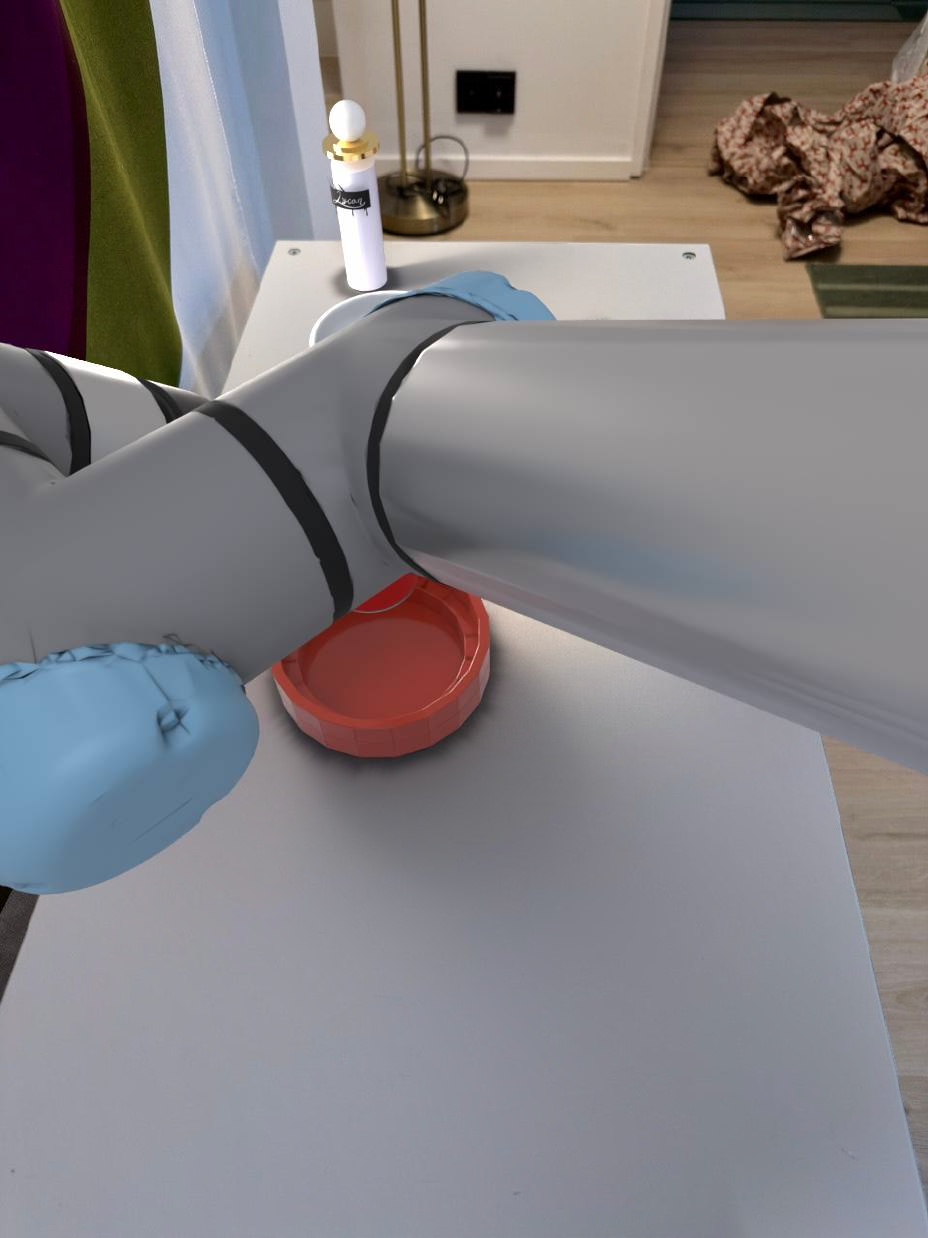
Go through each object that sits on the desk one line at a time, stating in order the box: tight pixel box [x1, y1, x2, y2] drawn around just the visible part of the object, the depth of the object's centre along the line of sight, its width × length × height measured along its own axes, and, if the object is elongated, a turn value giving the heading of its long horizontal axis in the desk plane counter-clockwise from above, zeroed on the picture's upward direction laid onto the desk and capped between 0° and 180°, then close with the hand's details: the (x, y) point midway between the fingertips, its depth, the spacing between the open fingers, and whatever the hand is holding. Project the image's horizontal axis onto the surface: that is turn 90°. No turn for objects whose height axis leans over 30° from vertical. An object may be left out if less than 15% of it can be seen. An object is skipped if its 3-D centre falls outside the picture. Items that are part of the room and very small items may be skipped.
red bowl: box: [270, 575, 491, 758], centre depth 69 cm, size 17×17×5 cm
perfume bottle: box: [321, 99, 388, 292], centre depth 95 cm, size 6×6×20 cm
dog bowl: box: [309, 290, 410, 347], centre depth 90 cm, size 15×15×6 cm
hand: (402, 511), depth 57 cm, fingers closed on beverage can, 6 cm apart
